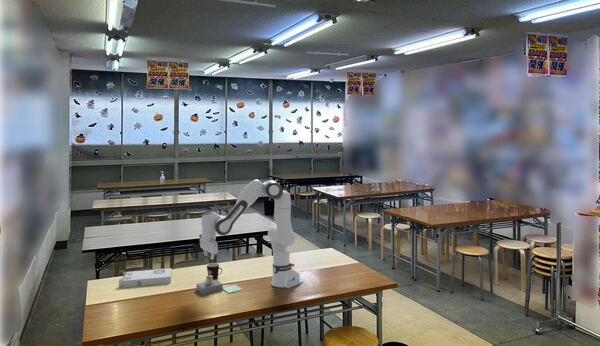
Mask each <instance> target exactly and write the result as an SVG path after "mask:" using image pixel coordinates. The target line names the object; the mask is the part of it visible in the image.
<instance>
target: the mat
mask: <svg viewBox="0 0 600 346" xmlns="http://www.w3.org/2000/svg"><path fill="white" fill-rule="evenodd" d="M222 291H224V292H225V293H227V294H232V293H236V292H239V291H243V289H242V288H241V287H239V286H238V285H237V284H234V285H230V286H229V285H228V286H225V287H224V286H223V290H222Z"/></svg>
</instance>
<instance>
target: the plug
mask: <svg viewBox="0 0 600 346" xmlns="http://www.w3.org/2000/svg"><path fill="white" fill-rule="evenodd" d="M205 282H206V285H207V286H209V285H213V276H211V275H210V276H208V275H207V276H206V281H205Z"/></svg>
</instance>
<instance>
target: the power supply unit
mask: <svg viewBox="0 0 600 346" xmlns="http://www.w3.org/2000/svg"><path fill="white" fill-rule="evenodd" d="M172 275H173V273H172V268H171V267H170V268H161V269H160V268H157V269H145V270H135V271H123V272H122V279H121V280H119V281H118V287H119V288H126V287H127V288H128V287H129V288H130V287H137V286H149V285H150V286H151V285H161V284H171V283H172Z"/></svg>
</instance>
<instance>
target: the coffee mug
mask: <svg viewBox="0 0 600 346" xmlns="http://www.w3.org/2000/svg"><path fill="white" fill-rule="evenodd" d="M206 269H207V276H210V275H211V276H213V280H218V278H219V275H221V274H222V273H223V269H222V268H221V267H220V263H219V262H211V263H207V264H206ZM219 270H221V272H219Z"/></svg>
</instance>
